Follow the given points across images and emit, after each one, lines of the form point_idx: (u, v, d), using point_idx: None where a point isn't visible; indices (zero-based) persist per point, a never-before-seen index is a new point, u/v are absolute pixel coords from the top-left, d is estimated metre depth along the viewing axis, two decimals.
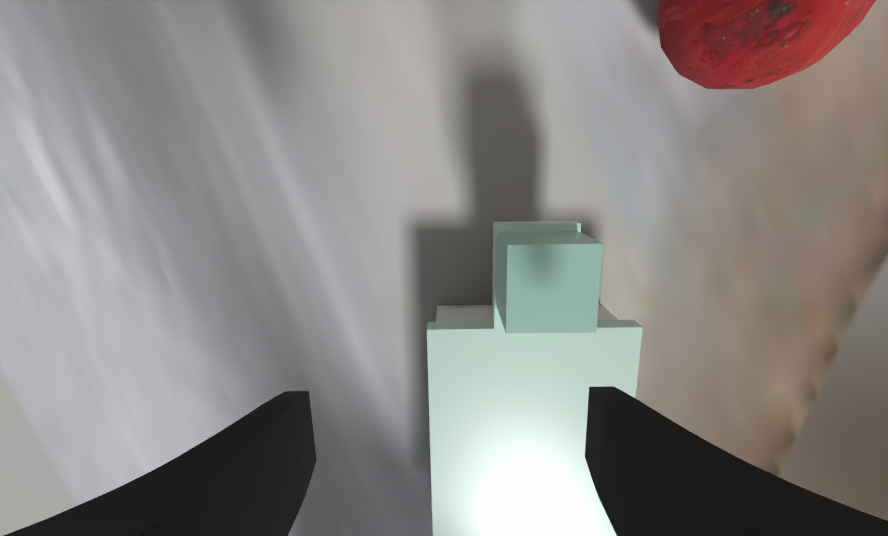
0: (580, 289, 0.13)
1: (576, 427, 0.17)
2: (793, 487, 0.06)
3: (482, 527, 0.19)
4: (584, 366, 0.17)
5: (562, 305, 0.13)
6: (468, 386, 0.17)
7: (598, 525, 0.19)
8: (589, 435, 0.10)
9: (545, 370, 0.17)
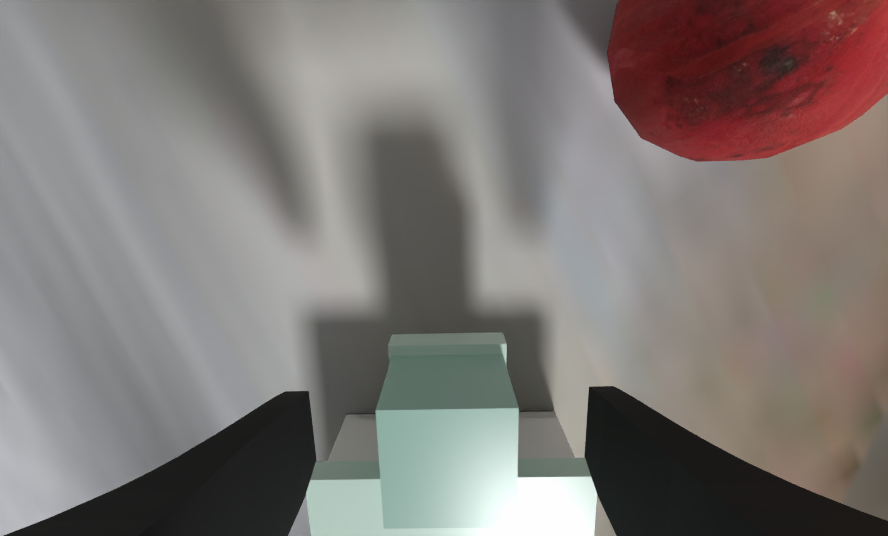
0: (488, 470, 0.09)
1: None
2: (793, 487, 0.06)
3: None
4: (521, 525, 0.12)
5: (463, 491, 0.09)
6: None
7: None
8: (589, 435, 0.10)
9: (468, 530, 0.12)
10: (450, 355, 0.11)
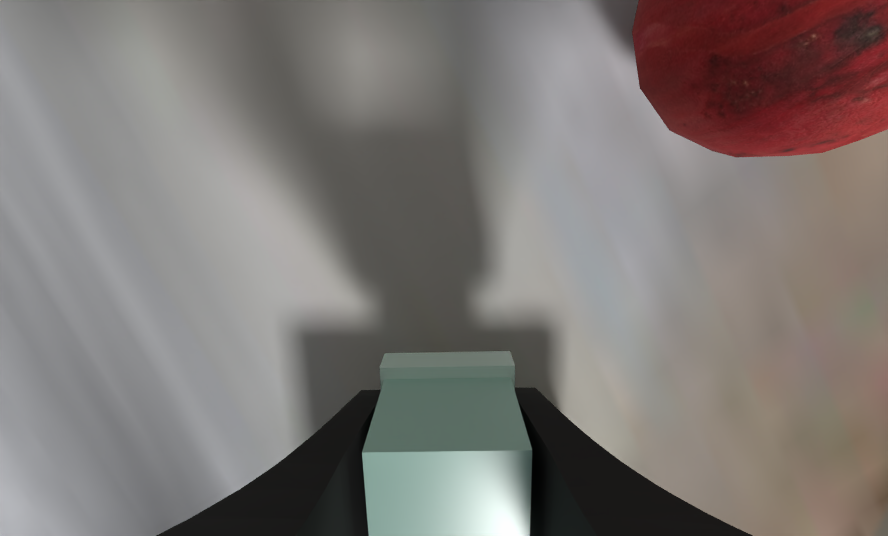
0: (496, 521, 0.08)
1: None
2: (655, 489, 0.06)
3: None
4: None
5: None
6: None
7: None
8: None
9: None
10: (450, 378, 0.10)
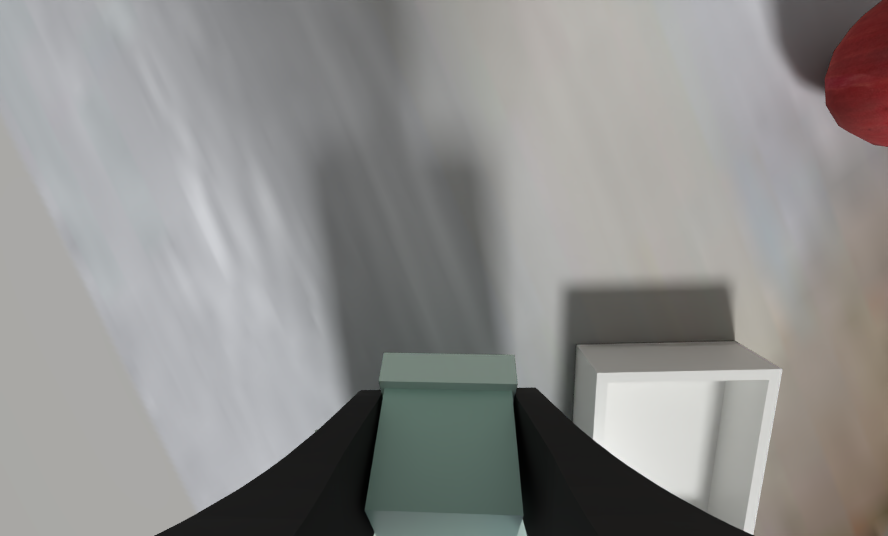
0: None
1: None
2: (656, 489, 0.06)
3: None
4: None
5: None
6: None
7: None
8: None
9: None
10: (451, 391, 0.10)
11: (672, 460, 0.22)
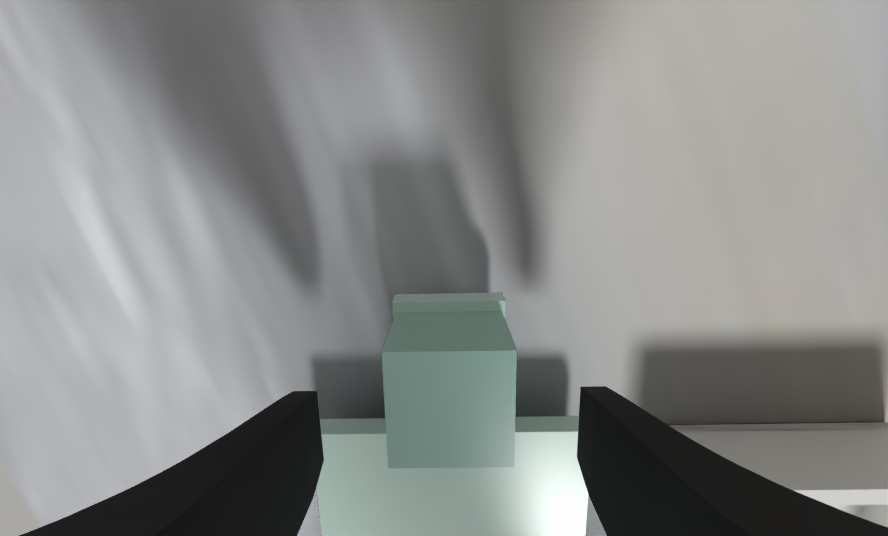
0: (488, 411, 0.09)
1: None
2: (778, 487, 0.06)
3: None
4: (519, 479, 0.13)
5: (464, 432, 0.10)
6: (370, 503, 0.13)
7: None
8: (581, 435, 0.10)
9: (468, 484, 0.13)
10: (451, 311, 0.12)
11: None
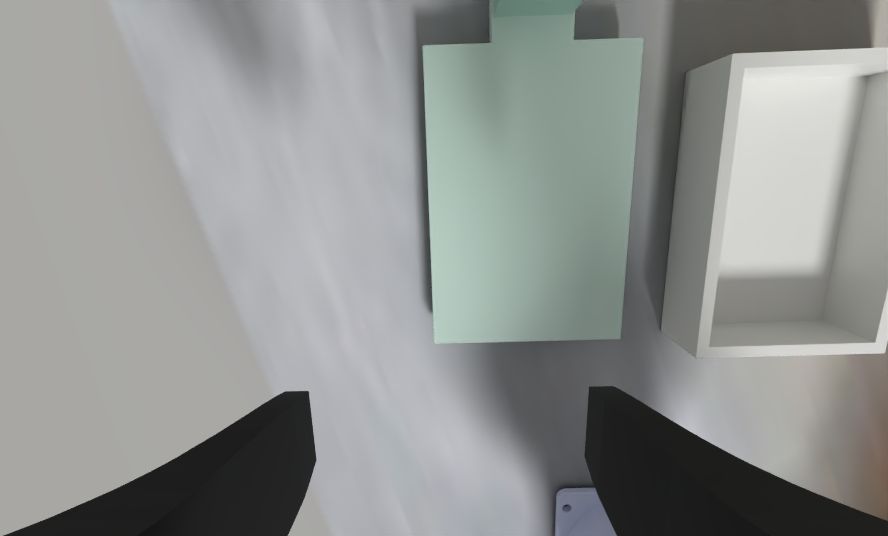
0: None
1: (578, 160, 0.17)
2: (793, 487, 0.06)
3: (482, 282, 0.18)
4: (584, 86, 0.16)
5: None
6: (466, 112, 0.17)
7: (601, 277, 0.18)
8: (589, 435, 0.10)
9: (544, 91, 0.16)
10: None
11: (791, 221, 0.19)
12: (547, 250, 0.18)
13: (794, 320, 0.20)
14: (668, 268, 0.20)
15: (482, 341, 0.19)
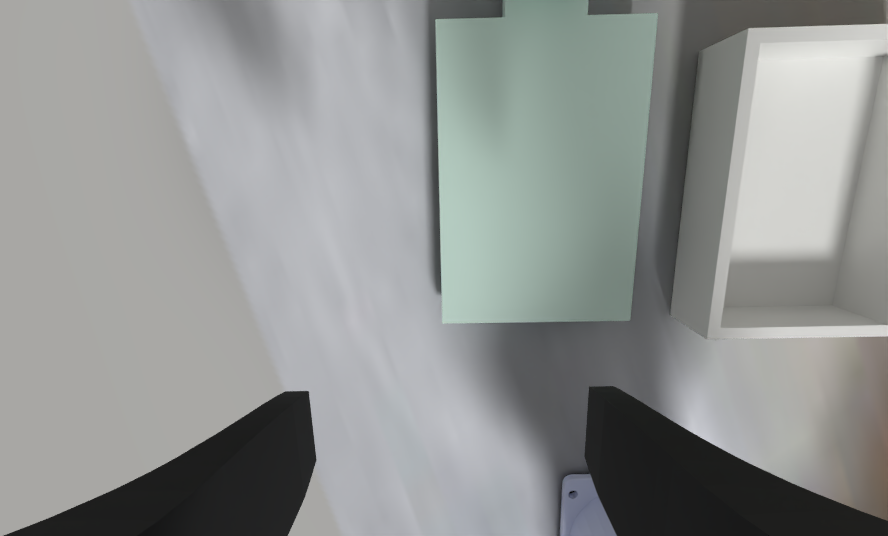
0: None
1: (589, 137, 0.17)
2: (793, 487, 0.06)
3: (492, 261, 0.18)
4: (598, 62, 0.16)
5: None
6: (478, 88, 0.17)
7: (612, 257, 0.18)
8: (589, 435, 0.10)
9: (557, 67, 0.16)
10: None
11: (803, 204, 0.19)
12: (557, 229, 0.18)
13: (805, 305, 0.20)
14: (678, 251, 0.20)
15: (491, 322, 0.19)
